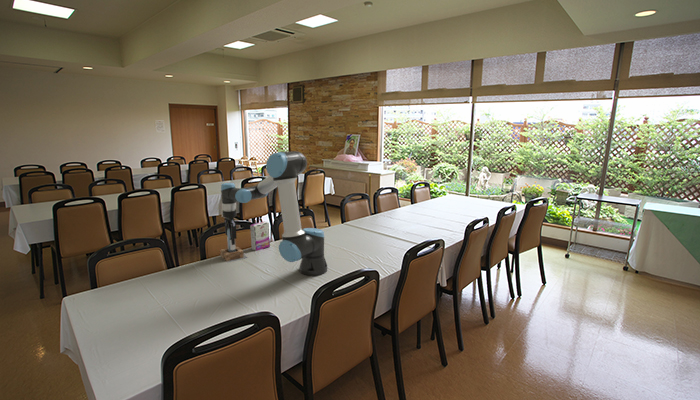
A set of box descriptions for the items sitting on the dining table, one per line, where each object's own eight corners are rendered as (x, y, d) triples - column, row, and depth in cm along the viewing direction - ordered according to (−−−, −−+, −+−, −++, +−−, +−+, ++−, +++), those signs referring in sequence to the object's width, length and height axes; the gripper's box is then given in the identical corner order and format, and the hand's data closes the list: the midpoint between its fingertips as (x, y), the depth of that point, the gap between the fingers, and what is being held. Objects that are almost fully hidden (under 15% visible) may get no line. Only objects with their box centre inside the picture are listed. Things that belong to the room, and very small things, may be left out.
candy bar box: (265, 245, 226) (264, 221, 223) (270, 246, 223) (269, 222, 220) (251, 249, 217) (249, 224, 214) (256, 251, 214) (254, 226, 211)
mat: (248, 258, 203) (248, 257, 203) (227, 262, 196) (227, 262, 196) (239, 251, 214) (239, 250, 214) (219, 255, 207) (219, 255, 207)
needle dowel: (236, 253, 204) (235, 227, 200) (229, 254, 201) (228, 229, 198) (234, 251, 207) (232, 226, 203) (227, 252, 204) (225, 227, 201)
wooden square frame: (243, 257, 204) (243, 251, 203) (226, 261, 197) (226, 254, 197) (237, 252, 211) (237, 246, 210) (220, 256, 205) (220, 249, 204)
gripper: (241, 211, 194) (243, 251, 199) (230, 206, 207) (233, 243, 212) (227, 213, 190) (230, 254, 194) (218, 207, 203) (220, 245, 208)
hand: (231, 248), depth 203 cm, fingers closed on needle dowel, 4 cm apart
